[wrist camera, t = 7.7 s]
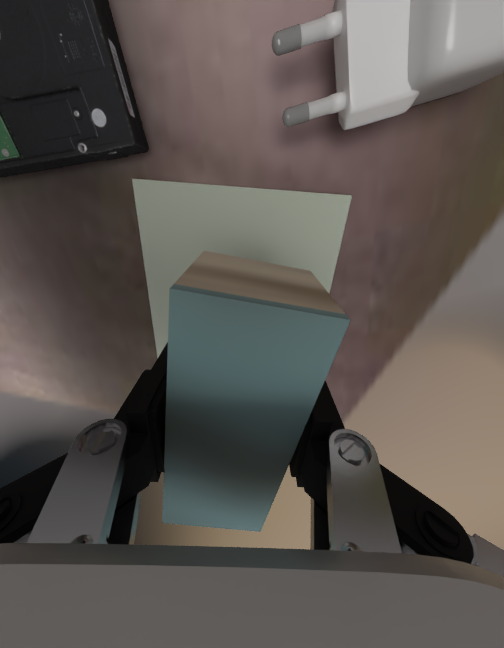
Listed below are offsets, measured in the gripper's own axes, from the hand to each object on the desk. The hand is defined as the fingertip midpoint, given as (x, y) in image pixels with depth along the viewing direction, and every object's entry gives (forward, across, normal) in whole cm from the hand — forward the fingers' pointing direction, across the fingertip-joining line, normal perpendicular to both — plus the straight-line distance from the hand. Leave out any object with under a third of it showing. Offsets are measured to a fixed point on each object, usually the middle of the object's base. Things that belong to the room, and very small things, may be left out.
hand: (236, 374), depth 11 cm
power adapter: (+10, -6, -13) cm, 18 cm away
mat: (+10, 0, 0) cm, 10 cm away
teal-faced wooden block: (0, 0, 0) cm, 0 cm away
